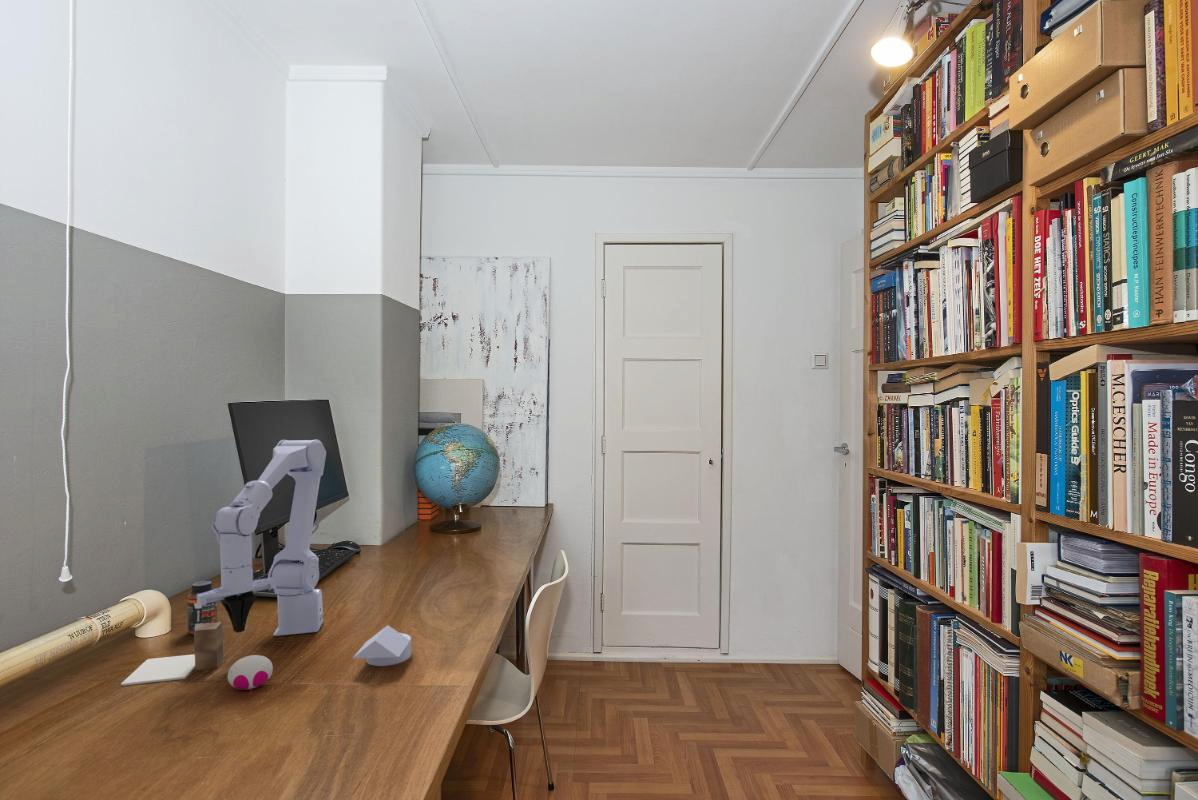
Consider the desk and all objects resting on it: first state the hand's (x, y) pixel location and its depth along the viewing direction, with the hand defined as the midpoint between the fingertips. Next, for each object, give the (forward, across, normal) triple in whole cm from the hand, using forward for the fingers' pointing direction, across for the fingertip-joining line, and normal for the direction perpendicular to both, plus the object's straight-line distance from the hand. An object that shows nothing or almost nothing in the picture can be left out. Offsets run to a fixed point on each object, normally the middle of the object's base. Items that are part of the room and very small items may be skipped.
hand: (238, 630), depth 138 cm
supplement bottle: (+7, -2, -26) cm, 27 cm away
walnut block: (+6, +4, -3) cm, 9 cm away
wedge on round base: (+7, -19, +24) cm, 31 cm away
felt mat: (+6, +11, -8) cm, 15 cm away
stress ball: (+7, +4, +15) cm, 17 cm away
